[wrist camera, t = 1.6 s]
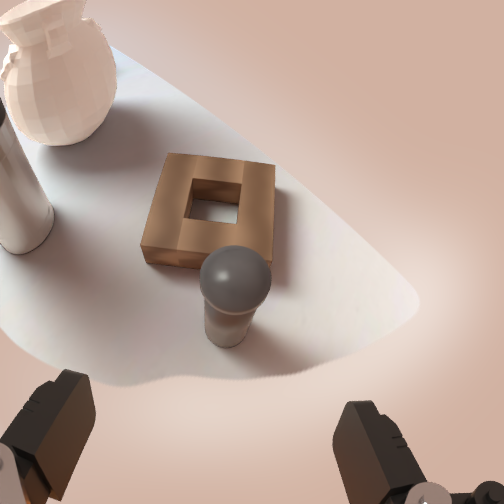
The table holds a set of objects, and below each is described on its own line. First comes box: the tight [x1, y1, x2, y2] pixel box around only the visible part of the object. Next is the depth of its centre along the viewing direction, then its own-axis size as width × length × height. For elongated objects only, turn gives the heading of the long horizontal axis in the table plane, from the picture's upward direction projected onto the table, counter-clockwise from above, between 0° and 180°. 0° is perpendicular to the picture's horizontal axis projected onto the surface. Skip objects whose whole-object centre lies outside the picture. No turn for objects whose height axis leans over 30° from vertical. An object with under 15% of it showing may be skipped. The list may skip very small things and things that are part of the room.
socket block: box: [140, 153, 275, 269], centre depth 38 cm, size 14×14×4 cm
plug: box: [200, 245, 271, 348], centre depth 28 cm, size 5×5×13 cm
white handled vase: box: [0, 0, 117, 146], centre depth 35 cm, size 19×18×25 cm
